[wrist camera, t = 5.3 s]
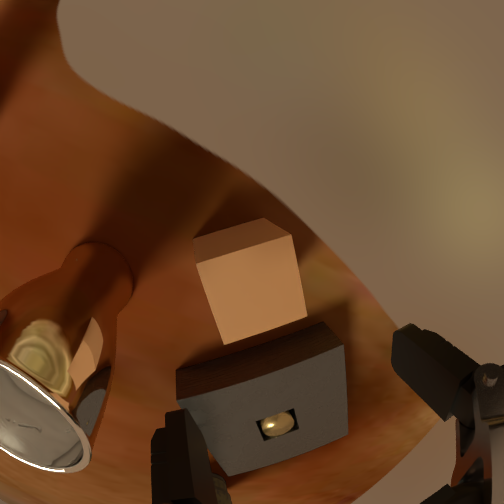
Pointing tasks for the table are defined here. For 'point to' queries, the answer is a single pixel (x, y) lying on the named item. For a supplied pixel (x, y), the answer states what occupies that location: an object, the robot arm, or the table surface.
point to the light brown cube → (250, 278)
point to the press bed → (269, 398)
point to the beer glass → (61, 358)
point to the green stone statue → (221, 490)
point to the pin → (277, 424)
